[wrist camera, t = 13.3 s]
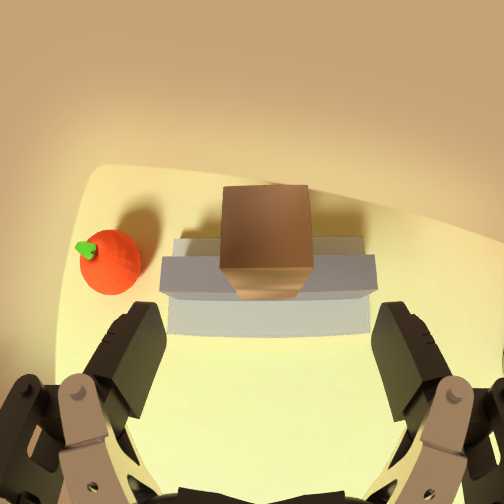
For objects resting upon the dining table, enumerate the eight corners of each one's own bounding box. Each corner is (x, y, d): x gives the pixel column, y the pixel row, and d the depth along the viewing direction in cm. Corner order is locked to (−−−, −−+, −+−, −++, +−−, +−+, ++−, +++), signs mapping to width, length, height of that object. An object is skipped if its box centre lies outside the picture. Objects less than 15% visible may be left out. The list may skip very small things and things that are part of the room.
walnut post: (292, 250, 22) (307, 184, 13) (294, 299, 21) (314, 267, 11) (243, 251, 22) (223, 186, 13) (242, 300, 21) (219, 268, 12)
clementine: (88, 284, 29) (52, 269, 22) (109, 233, 31) (78, 209, 24) (137, 309, 28) (103, 299, 21) (160, 252, 30) (132, 228, 23)
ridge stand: (358, 241, 29) (378, 216, 23) (365, 333, 26) (390, 330, 19) (178, 243, 30) (156, 219, 24) (172, 334, 27) (146, 331, 21)
